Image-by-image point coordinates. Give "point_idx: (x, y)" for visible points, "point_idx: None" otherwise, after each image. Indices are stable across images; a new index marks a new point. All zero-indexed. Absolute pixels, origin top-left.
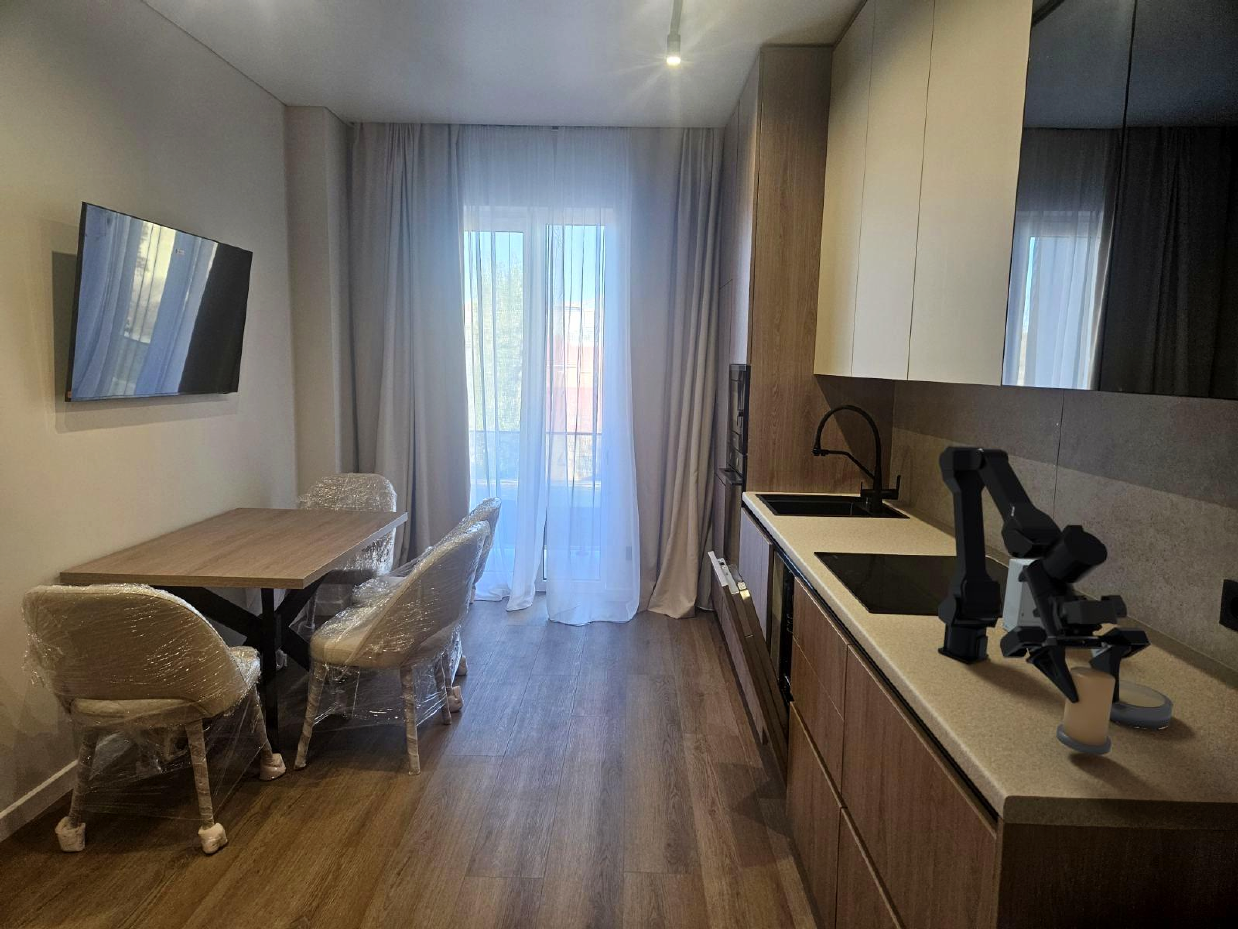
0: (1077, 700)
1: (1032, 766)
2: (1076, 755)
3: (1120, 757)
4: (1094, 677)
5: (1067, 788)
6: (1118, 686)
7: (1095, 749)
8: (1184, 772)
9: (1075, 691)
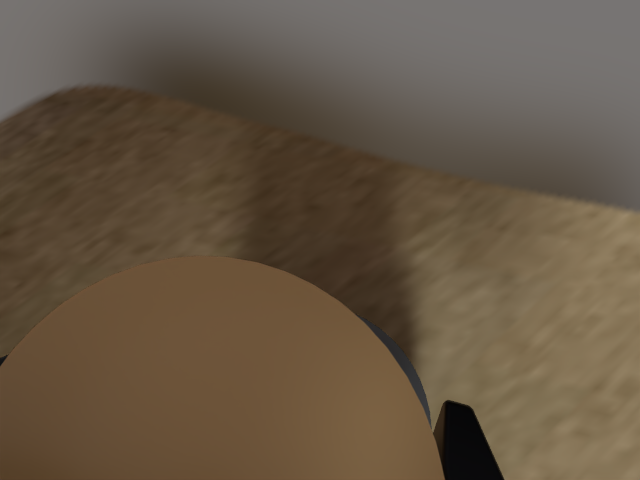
0: (459, 406)
1: (619, 406)
2: None
3: None
4: (232, 434)
5: (589, 238)
6: (4, 360)
7: (355, 314)
8: (40, 219)
9: (462, 456)
